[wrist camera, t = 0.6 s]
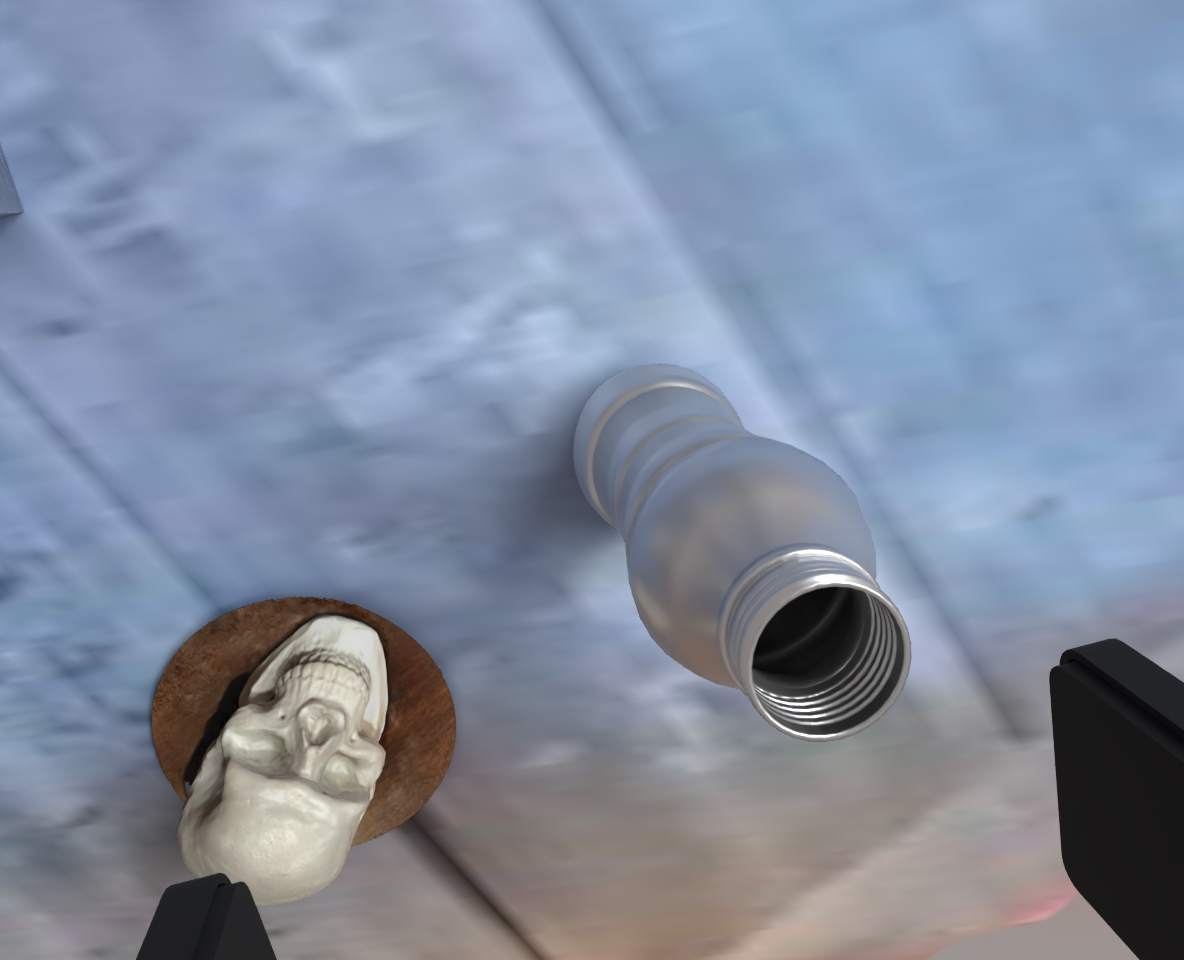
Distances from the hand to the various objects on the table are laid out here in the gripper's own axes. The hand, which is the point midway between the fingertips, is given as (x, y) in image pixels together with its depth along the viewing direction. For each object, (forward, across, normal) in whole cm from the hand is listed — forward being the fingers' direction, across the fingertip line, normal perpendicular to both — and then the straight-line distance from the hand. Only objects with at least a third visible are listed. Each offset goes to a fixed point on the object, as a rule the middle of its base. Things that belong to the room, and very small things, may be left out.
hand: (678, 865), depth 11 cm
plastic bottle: (+28, -4, +3) cm, 29 cm away
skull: (+29, +12, +12) cm, 33 cm away
